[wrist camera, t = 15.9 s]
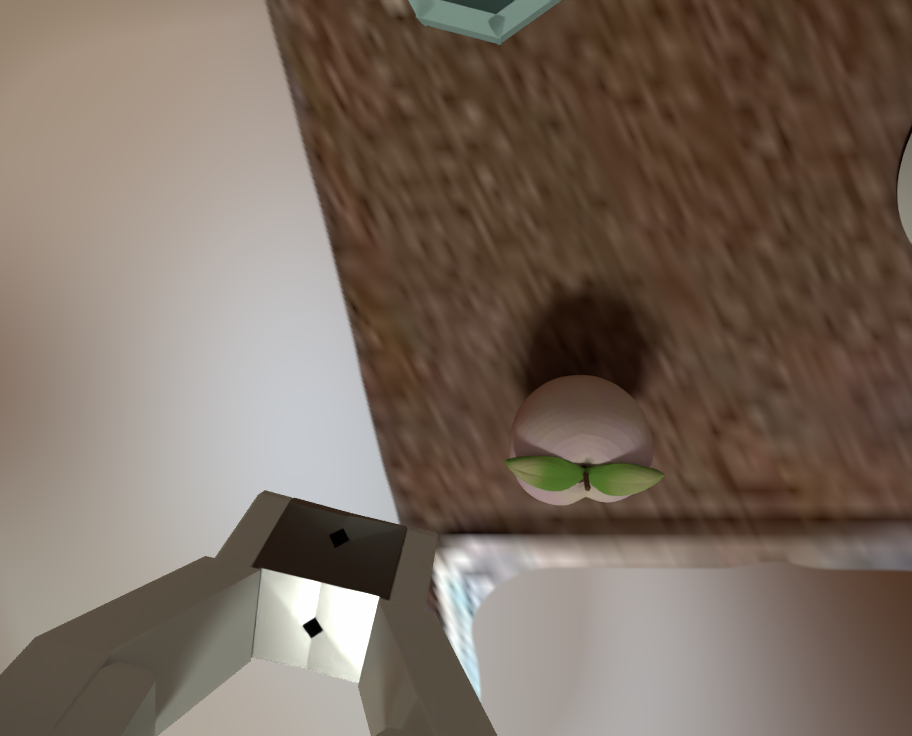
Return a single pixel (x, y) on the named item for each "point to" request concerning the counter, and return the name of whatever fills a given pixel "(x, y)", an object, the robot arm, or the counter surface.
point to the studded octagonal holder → (480, 16)
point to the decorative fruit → (581, 442)
